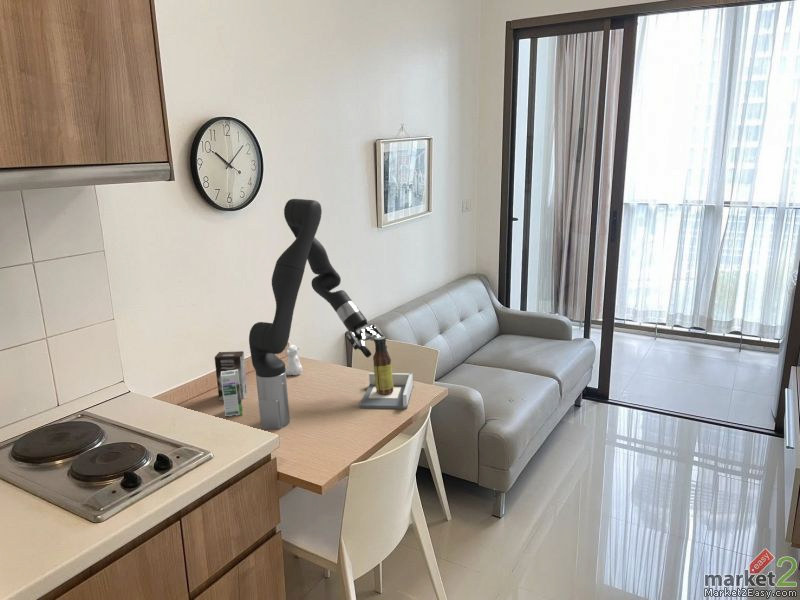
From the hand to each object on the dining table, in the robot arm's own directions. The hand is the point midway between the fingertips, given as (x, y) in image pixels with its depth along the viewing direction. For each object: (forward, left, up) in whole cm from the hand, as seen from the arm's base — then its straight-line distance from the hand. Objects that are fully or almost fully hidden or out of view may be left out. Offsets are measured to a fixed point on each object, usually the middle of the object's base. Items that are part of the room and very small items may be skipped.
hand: (377, 352), depth 207 cm
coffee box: (-4, +53, -16) cm, 55 cm away
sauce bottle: (-1, -2, -14) cm, 15 cm away
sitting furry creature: (+20, +38, -16) cm, 45 cm away
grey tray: (-2, -3, -15) cm, 16 cm away
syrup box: (-18, +47, -16) cm, 53 cm away
